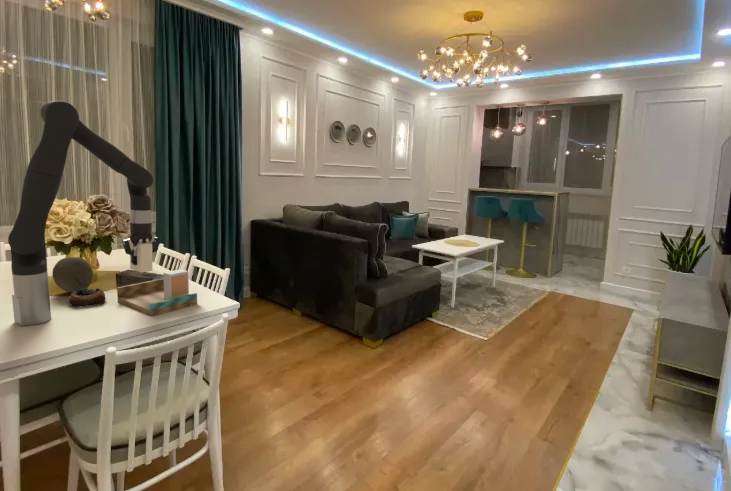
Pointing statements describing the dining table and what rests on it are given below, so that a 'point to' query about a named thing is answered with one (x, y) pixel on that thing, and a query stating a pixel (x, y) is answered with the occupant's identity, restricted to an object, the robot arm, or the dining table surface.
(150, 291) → the wooden tray
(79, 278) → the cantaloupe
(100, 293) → the pastry
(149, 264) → the tea box
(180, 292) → the faced tea box
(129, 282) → the dark brown box
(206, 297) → the dining table surface
